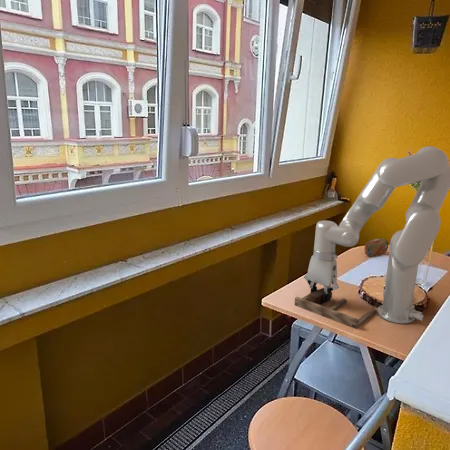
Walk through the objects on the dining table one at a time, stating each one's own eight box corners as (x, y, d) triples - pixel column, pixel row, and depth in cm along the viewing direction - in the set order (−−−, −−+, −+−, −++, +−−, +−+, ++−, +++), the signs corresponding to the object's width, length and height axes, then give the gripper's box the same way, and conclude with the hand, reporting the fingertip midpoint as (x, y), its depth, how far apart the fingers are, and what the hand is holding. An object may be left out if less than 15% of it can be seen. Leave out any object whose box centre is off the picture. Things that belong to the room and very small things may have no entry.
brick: (315, 309, 148) (316, 297, 147) (306, 305, 151) (307, 293, 150) (331, 300, 155) (333, 289, 154) (323, 297, 158) (324, 286, 156)
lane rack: (375, 312, 146) (376, 305, 145) (356, 328, 135) (356, 320, 134) (316, 292, 162) (317, 285, 161) (294, 305, 151) (295, 297, 150)
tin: (367, 258, 201) (369, 242, 198) (362, 256, 203) (364, 240, 201) (387, 253, 208) (389, 238, 206) (382, 252, 210) (384, 236, 208)
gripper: (349, 258, 144) (344, 304, 149) (309, 246, 155) (305, 289, 160) (339, 263, 139) (334, 310, 144) (298, 250, 150) (294, 295, 155)
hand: (319, 299), depth 152 cm, fingers closed on brick, 4 cm apart
